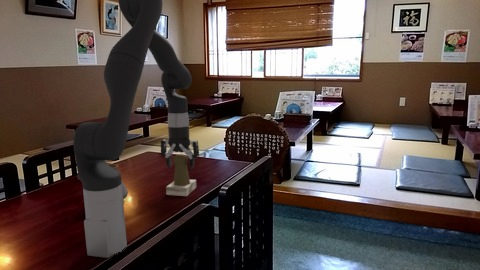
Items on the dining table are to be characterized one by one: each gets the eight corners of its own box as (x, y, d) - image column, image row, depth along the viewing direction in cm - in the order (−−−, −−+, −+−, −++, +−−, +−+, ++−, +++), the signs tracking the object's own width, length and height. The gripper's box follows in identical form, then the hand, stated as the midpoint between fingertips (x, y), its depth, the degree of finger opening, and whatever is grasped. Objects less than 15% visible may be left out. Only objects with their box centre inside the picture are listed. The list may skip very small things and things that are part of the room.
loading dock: (186, 196, 132) (186, 188, 131) (166, 194, 134) (166, 187, 133) (196, 187, 141) (196, 179, 141) (177, 185, 143) (176, 178, 143)
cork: (187, 186, 134) (186, 156, 132) (171, 185, 134) (170, 156, 132) (191, 180, 140) (190, 153, 137) (176, 180, 140) (174, 152, 138)
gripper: (155, 126, 131) (158, 169, 134) (193, 126, 127) (195, 171, 130) (164, 122, 138) (167, 164, 141) (200, 123, 135) (201, 166, 138)
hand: (180, 167), depth 136 cm, fingers open, 8 cm apart
